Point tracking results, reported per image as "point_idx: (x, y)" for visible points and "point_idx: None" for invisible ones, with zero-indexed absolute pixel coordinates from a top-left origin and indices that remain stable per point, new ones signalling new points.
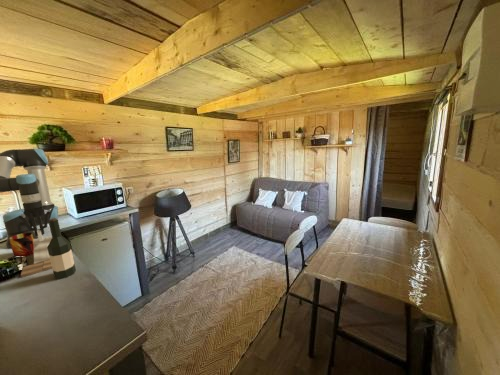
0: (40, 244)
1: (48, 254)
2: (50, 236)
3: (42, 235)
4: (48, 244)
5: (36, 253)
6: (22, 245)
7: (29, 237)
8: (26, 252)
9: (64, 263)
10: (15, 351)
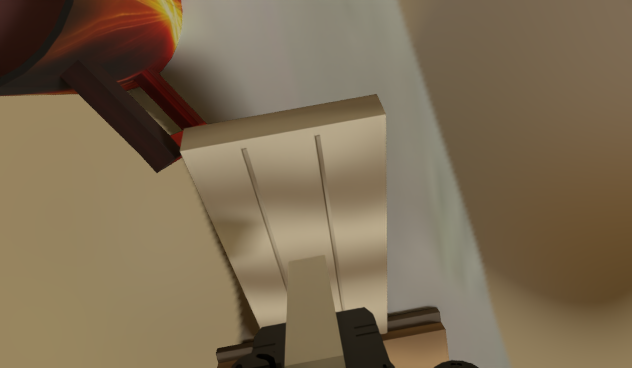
0: (281, 227)
1: None
2: (375, 132)
3: (329, 281)
4: (354, 233)
5: (268, 300)
6: (61, 91)
7: (85, 21)
8: (124, 86)
9: None
10: None
